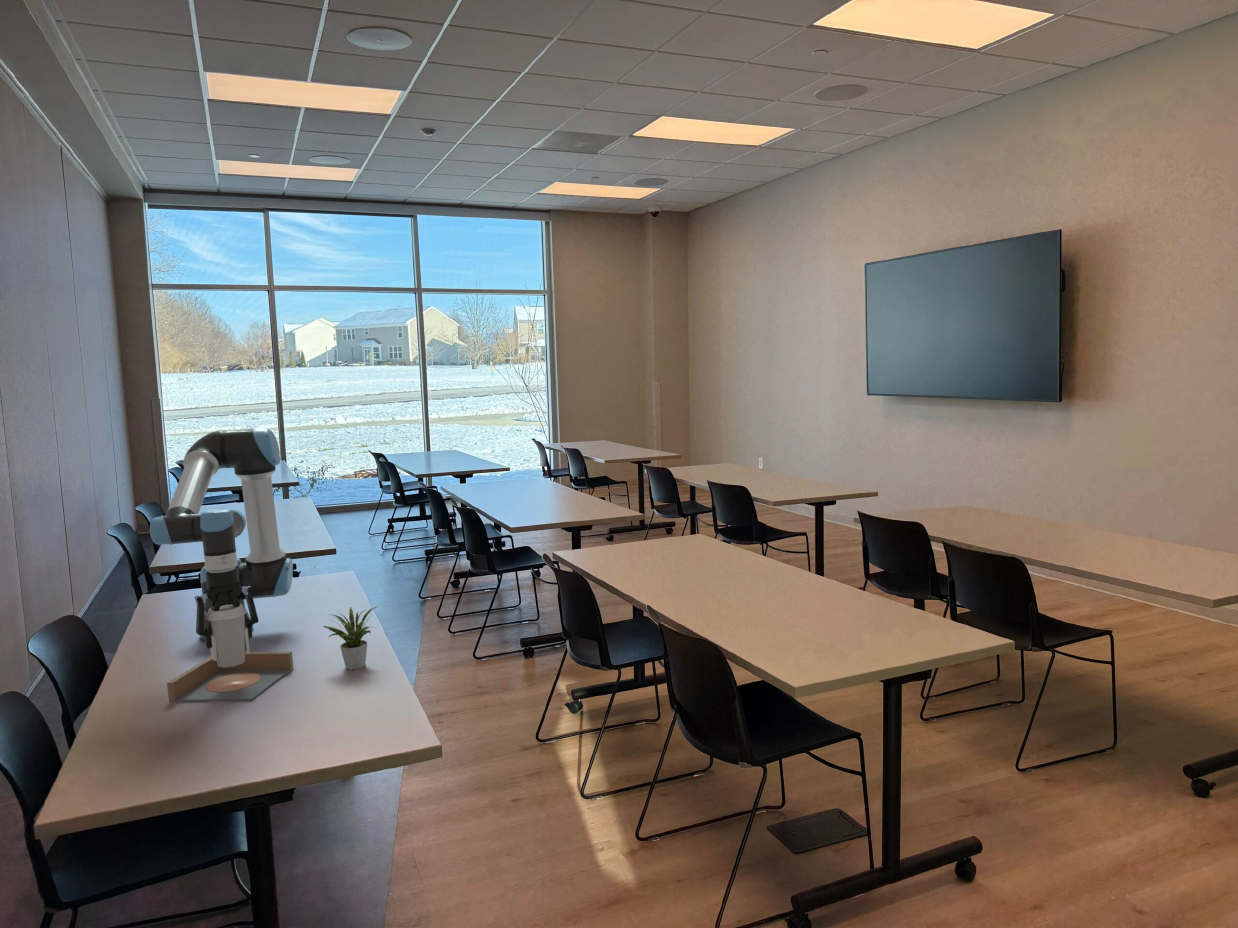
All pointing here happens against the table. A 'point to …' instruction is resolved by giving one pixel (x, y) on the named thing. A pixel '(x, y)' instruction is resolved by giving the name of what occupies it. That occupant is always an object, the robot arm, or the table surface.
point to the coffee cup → (228, 634)
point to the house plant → (353, 640)
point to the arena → (230, 678)
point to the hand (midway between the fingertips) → (230, 654)
